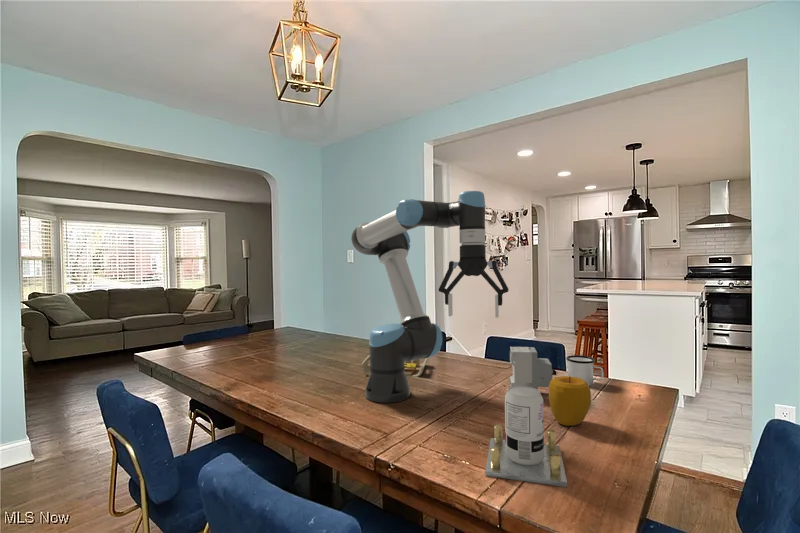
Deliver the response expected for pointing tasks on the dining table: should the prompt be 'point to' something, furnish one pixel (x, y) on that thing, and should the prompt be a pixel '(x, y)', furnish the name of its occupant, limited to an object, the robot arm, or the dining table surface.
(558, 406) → the apple
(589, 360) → the mug
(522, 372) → the circuit breaker
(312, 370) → the dining table surface
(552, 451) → the plate
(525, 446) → the supplement can
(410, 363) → the toy food set
